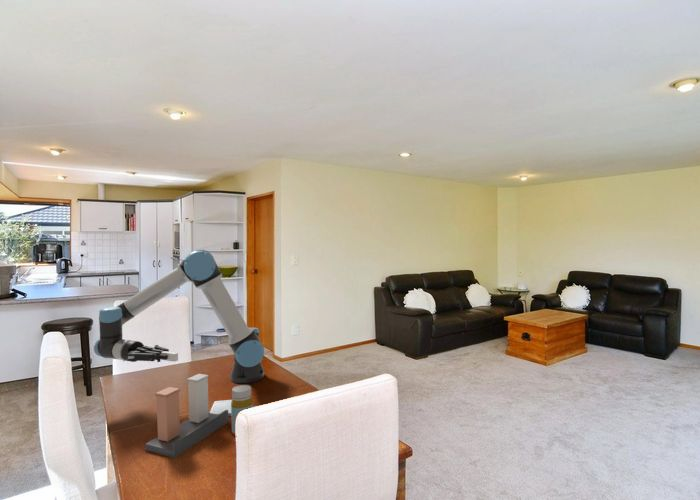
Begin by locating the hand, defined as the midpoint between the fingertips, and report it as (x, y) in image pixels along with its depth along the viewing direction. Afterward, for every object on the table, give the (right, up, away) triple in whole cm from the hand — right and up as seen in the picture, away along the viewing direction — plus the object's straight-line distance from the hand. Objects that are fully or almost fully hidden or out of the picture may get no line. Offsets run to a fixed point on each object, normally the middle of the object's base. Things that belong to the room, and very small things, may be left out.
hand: (176, 357), depth 140 cm
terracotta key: (+4, -21, -15) cm, 26 cm away
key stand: (+9, -23, -9) cm, 27 cm away
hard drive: (+13, -23, +10) cm, 29 cm away
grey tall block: (+9, -21, -3) cm, 23 cm away
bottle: (+26, -23, -8) cm, 36 cm away
